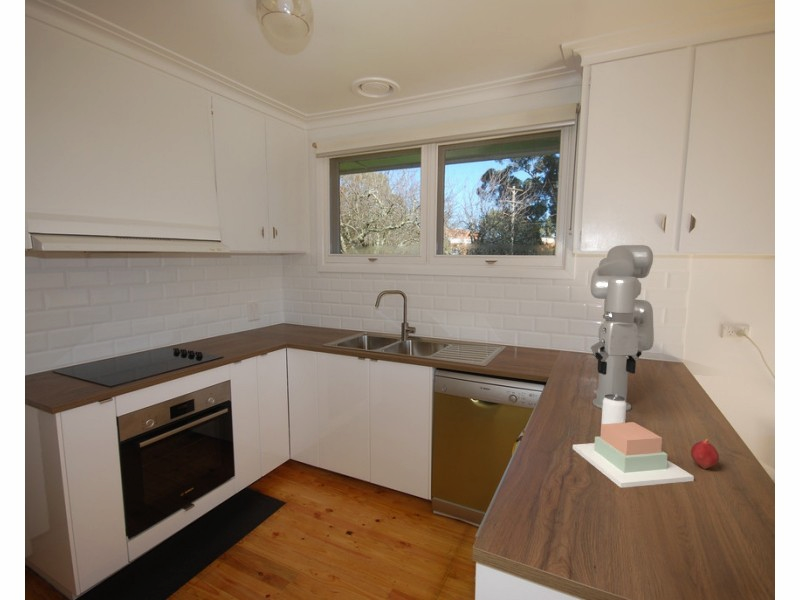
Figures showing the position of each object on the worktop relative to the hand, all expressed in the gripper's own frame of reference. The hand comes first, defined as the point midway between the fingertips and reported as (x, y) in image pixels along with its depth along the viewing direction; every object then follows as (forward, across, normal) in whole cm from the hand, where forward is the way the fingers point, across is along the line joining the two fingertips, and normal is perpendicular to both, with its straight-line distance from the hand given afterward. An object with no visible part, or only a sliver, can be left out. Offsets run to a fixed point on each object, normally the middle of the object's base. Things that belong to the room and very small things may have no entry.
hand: (616, 372), depth 123 cm
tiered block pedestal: (+20, -8, -16) cm, 27 cm away
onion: (+20, +10, -21) cm, 31 cm away
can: (+20, 0, +1) cm, 20 cm away
